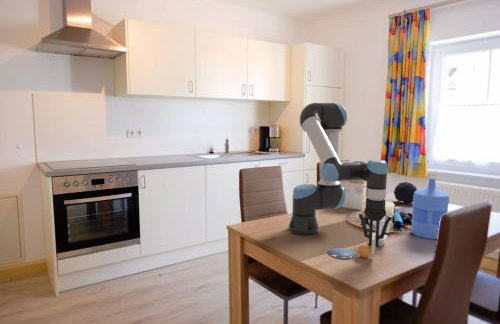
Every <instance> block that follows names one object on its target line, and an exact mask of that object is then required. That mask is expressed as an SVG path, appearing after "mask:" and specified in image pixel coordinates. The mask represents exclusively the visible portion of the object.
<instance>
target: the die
mask: <svg viewBox="0 0 500 324" xmlns="http://www.w3.org/2000/svg"><path fill="white" fill-rule="evenodd" d="M382 220H385V216H384V217H383V218H382ZM389 222H390V231H389V232H388V233H387V232H385V234H390V233H391V230H392V228H393V226H394V223H393V222H392V220H390V221H389ZM373 227H374V228H375V229H376V225H374V224H373ZM382 229H383V226H382ZM382 229H381V232H382Z"/></svg>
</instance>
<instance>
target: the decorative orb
mask: <svg viewBox="0 0 500 324" xmlns="http://www.w3.org/2000/svg"><path fill="white" fill-rule="evenodd" d="M415 191H417V187H416V185H415V184H412V183H411V182H407V181H405V182H398V184H397V185H396V186H395V188H394V191H393V194H394V199H396V200H397V201H398V202H399V201H403V202H404V203H403V204H404V205H407V204H413V196H414V192H415Z"/></svg>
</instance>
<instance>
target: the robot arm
mask: <svg viewBox="0 0 500 324" xmlns="http://www.w3.org/2000/svg"><path fill="white" fill-rule="evenodd" d="M347 120H348V115H347V110H346V108H345V107H344V106H343V104H341V103H335V102H313V103H309V104H306V106H305V107H304V108H303V109H302V110H301V112H300V115H299V124H300V127H301V129H302V131H304V132H306V134H307V136H308V138H309V140H310V142H311V145H312V147H313V149H314V150H315V152H316V155H317V156H318V158H319V160H320V180H319V181H318V182H317V185H316V184H313V183H307V184H306V183H305V184H299V185H297V186H295V187H293V191H292V213H291V214H292V216H291V219H290V221H289V224H288V231H289V232H291V233H292V234H295V235H299V236H311V235H316V234H318V233H319V228H320V227H319V223H318V221H317V217H316V211H319V210H320V211H321V210H335V209H340V208H342V207H341V206H342V205H343V203H344V201H345V192H344V188H343V187H342V186H341V183H340V181H345V180H364V181H366V189H365V208H364V209H363V212H359V213H358V218H359V219H360V221H361V225H362V229H363V234H364V237H365V238H368V246H370V247H371V255H370V256H376V248H379V245H378V243H379V239H383V238H384V235H386V233H385V232H386V229H387V226H388V223H389V221H392V220H393V219H392V215H390V214H388V213H387V211H386V202H387V200H386V198H387V181H388V180H387V179H388V163H387V161H386V160H383V159H380V160H379V159H369V160H368V161H367V162H364V161H361V160H360V161H359V160H357V161H353V162H342V161H341V159H340V158H339V141H340V140H339V138H340V136H339V135H340V133H341V131H342V130H343V127H344V126H345V125H346V124H347V123H346V122H347ZM365 217H366V218H367V219H369V220H370V223H369V230H368V227H367V223H366V219H365ZM383 217H385V223H384V226H383V229H382V232H381V235H379V223H380V220H382V218H383ZM373 221H376V228H375V233H376V238H372V232H373V230H374V229H373V227H374V224H373ZM373 233H374V232H373Z"/></svg>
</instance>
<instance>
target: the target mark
mask: <svg viewBox="0 0 500 324" xmlns="http://www.w3.org/2000/svg"><path fill="white" fill-rule="evenodd" d="M328 254H329V255H328ZM334 254H335V255H337V256H336V257H338V258H339V260H349V259H348V258H350V256H352V258H353V259H355V258H356V257H357V253H356V252H355V251H354V250H352V249H350V248H343V247H334V248H333V247H332V248H329V249H328V250H327V255H328V256H330V255H334ZM342 257H346V258H342ZM354 257H355V258H354Z"/></svg>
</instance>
